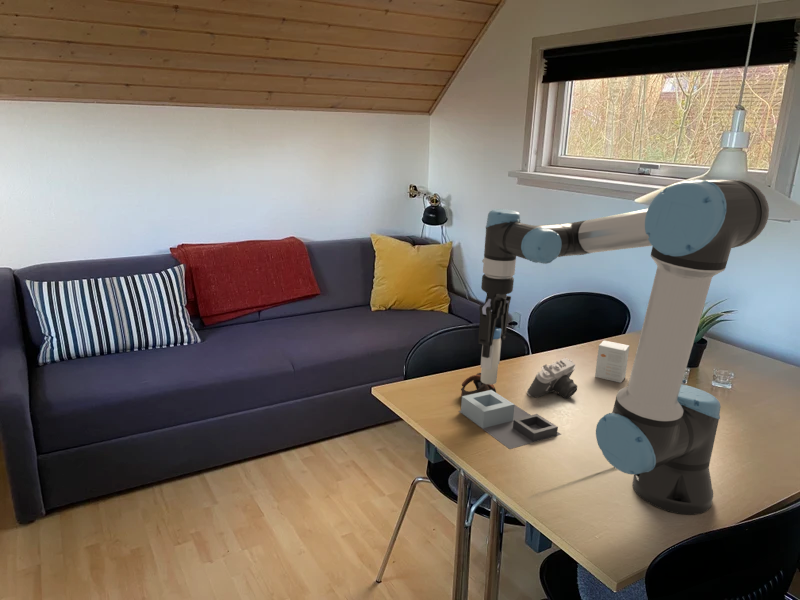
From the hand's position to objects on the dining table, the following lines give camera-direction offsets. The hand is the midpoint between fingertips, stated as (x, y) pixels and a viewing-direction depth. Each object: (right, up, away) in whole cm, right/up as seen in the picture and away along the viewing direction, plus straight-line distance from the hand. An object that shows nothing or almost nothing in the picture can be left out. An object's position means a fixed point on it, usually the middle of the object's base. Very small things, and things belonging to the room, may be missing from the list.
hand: (489, 365), depth 148 cm
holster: (+11, -16, -3) cm, 19 cm away
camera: (+22, -11, +19) cm, 31 cm away
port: (0, -13, +4) cm, 14 cm away
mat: (+5, -15, +1) cm, 16 cm away
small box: (+42, -7, +33) cm, 54 cm away
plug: (0, -4, +1) cm, 4 cm away
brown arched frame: (-1, -11, +15) cm, 19 cm away
